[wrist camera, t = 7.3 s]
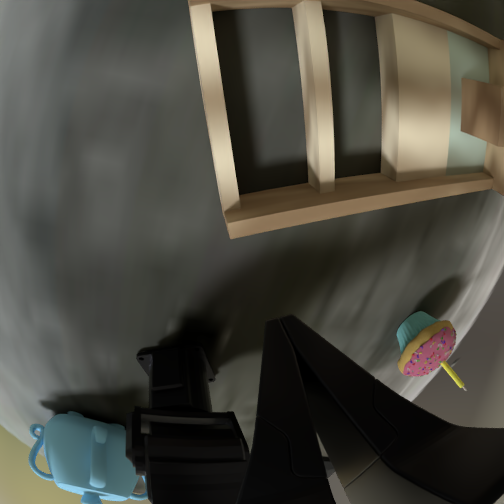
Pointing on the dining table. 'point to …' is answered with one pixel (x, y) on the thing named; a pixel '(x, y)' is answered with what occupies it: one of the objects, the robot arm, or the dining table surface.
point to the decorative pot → (86, 458)
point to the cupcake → (426, 345)
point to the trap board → (393, 113)
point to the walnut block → (483, 111)
